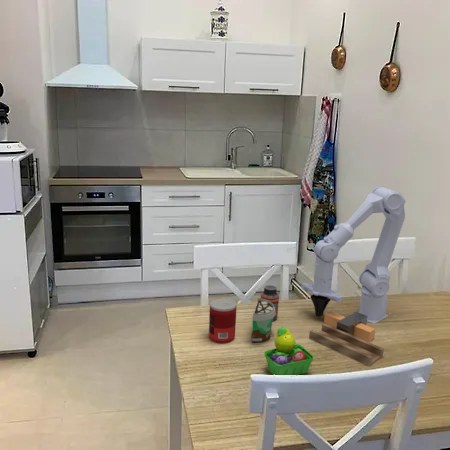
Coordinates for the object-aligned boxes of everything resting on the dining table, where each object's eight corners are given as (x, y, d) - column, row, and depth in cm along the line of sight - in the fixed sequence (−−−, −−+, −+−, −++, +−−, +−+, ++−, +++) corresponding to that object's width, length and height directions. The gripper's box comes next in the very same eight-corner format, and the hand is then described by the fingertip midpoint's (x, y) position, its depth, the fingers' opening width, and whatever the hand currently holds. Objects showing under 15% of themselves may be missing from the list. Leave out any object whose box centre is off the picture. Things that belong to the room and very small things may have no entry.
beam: (354, 325, 151) (356, 311, 149) (365, 330, 148) (367, 316, 147) (335, 336, 143) (337, 321, 142) (346, 341, 140) (348, 326, 139)
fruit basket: (275, 383, 118) (279, 343, 115) (259, 365, 125) (262, 327, 123) (313, 375, 122) (317, 336, 119) (295, 358, 130) (298, 321, 127)
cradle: (308, 339, 140) (309, 330, 140) (323, 332, 145) (324, 323, 145) (368, 367, 126) (370, 357, 126) (382, 358, 132) (383, 348, 131)
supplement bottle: (267, 325, 149) (269, 292, 146) (255, 318, 153) (257, 286, 150) (280, 320, 152) (283, 288, 149) (268, 313, 157) (270, 282, 154)
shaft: (323, 322, 150) (324, 313, 150) (329, 320, 153) (330, 311, 152) (368, 341, 139) (369, 332, 139) (374, 338, 142) (375, 329, 141)
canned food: (240, 337, 140) (241, 303, 137) (222, 346, 134) (223, 311, 132) (221, 328, 145) (223, 296, 142) (203, 337, 139) (204, 303, 137)
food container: (271, 348, 135) (274, 316, 132) (250, 345, 136) (252, 314, 133) (275, 329, 146) (278, 299, 144) (256, 326, 147) (258, 297, 145)
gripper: (297, 273, 152) (294, 311, 156) (335, 286, 142) (331, 327, 146) (310, 268, 157) (307, 305, 161) (347, 281, 147) (343, 320, 150)
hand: (319, 315), depth 153 cm, fingers closed
